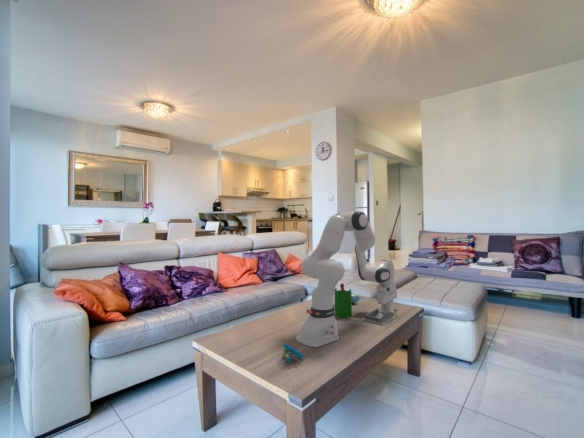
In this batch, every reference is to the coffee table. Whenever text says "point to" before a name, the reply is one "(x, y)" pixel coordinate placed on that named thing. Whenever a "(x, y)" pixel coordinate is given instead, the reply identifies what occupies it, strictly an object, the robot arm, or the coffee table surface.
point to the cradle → (378, 317)
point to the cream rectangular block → (388, 307)
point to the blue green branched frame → (291, 352)
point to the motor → (343, 302)
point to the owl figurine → (353, 298)
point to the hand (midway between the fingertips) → (387, 308)
